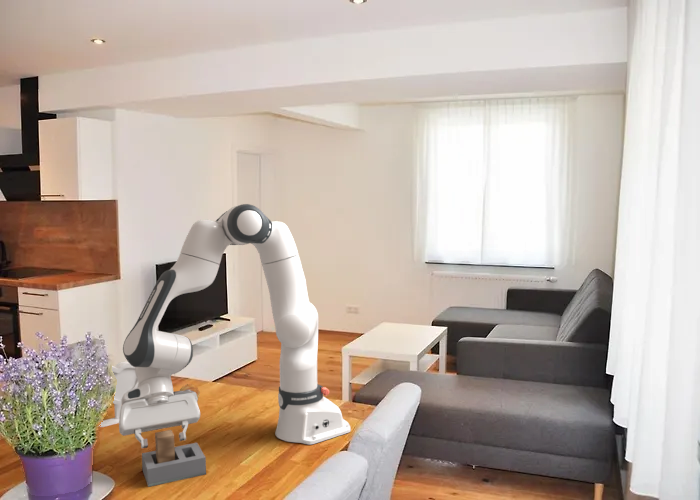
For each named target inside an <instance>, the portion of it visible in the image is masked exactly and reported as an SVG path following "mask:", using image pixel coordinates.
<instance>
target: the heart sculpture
mask: <svg viewBox="0 0 700 500" xmlns="http://www.w3.org/2000/svg"><path fill="white" fill-rule="evenodd" d="M112 371H113V373H114V375H115V377H116V379H117V385H116V393H115V396H114V401H113V403H112V404H114V417H112V418H107V419H103V420H102V421H103V422H101V424H100V425H101V426H100V425H99V426H100V428H104V427H105V428H106V427H108V426H112V425H116V424H119V417H120V410H121V407H122V397H123V394H124V393H126V392H128V391H131V390H133V389H135V388H137V387H138V378H137V376H136V372H135V367H133V366H132V365H131V364H130V363H129V362H128V361H127V360H126V361H120V362H118V363H117V364H115V365H112ZM99 426H98V427H99Z"/></svg>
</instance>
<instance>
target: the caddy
mask: <svg viewBox="0 0 700 500" xmlns="http://www.w3.org/2000/svg"><path fill="white" fill-rule="evenodd" d="M174 447H175V460H173V461H169V462H164V463H159V464H156V450H152V451H147V452H142V453H141V468H142V469H141V470H142V473H143V475H144V479H145V481H146V485H147V487H148V488H149V487H154V486H158V485H164V484H167V483H172V482H173V483H174V482H177V481H181V480H187V479H191V478H195V477H199V476H205V475H207V463H206V461H207V457H206V455H205V454H204V452H203V451H202V448H201V447H200V445H199V443H198V442H194V443H187V444H183V445H178V446H177V445H176V446H174Z"/></svg>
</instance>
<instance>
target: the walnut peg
mask: <svg viewBox="0 0 700 500" xmlns="http://www.w3.org/2000/svg"><path fill="white" fill-rule="evenodd" d="M154 439H155V451H156V464H159V463H164V462H169V461H173V460H175V447H176V446H175V434H174V432H173V430H172V429H168V430H163V431H158V432H156V431H155V433H154Z"/></svg>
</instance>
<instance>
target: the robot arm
mask: <svg viewBox="0 0 700 500" xmlns="http://www.w3.org/2000/svg"><path fill="white" fill-rule="evenodd" d="M249 244H251V245H252V246H253V247H254V248H255V249H256V250H257V251H256V252H257V253H258V254H259V258H260V263H261V265H262V266H261V267H262V270H263V274H264V277H265V278H264V279H265V281H266V284H267V288H268V291H269V292H268V293H269V299H270V306H271V313H272V317H273V318H272V319H273V323H274V328H275V335H276V337H277V339H278V341H279V342H280V343H281V344H280V357H279V386H278V394H277V395H278V396H277V397H278V399H277V400H278V406H279V412H278V414H279V415H278V419H277V424H276V425H277V426H276V429H275V433H274V434H275V436H276V438H277V439H280V440H282V441H284V442H288V443H301V444H304V445H314V444H317V443H321V442H324V441H326V440H327V441H328V440H330V439H333V438H336V437H339V436H342V435H346V434H349V433H350V432H351V430H352V429H351V425H350V423H349V422H348V421H347V420H345V419H344V418H343V414H342V411H341V409H340V407H339V406H338V405H336V404H335V403H334V402H333V401H331V400H330V399H328V398H327V397H325V396H329V394H330V390H329V389H328V388H327V387H326V386H323V385H320V384H319V383H318V349H319V345H318V344H319V313H318V310H317V307H316V306H314V304H313V303H312V302H310V298H309V295H308V294H309V293H308V288H307V280H306V276H305V273H304V270H303V266H302V260H301V258H300V254H299V251H298V247H297V244H296V242H295V239H294V236H293V235H292V232H291V231H290V228H289V227H288V225H287V224H286V223H284V222H283V221H279V220H274V221H273V220H272V221H271V219H270V218H268V216H267V215H266V214H265V213H264V212H263V210H261V209H260V208H258V207H257V206H255V205H254V204H249V203H242V204H237V205H234V206H233V207H231V208H229V209H228V210H227V211H225V212H224V213H222V214H221V215H220V216H219V217H218V218H217V219H216V220H212V219H200V220H197V221H195V222H193V224H192V226H191V227H190V229H189V231H188V233H187V235H186V237H185V239H184V241H183V244H182V247H181V250H180V253H179V255H178V258H177V260H176V261H175V263H174V264H173V266H172V267H170V269H167V270H165V271H164V272H162V274H161V275H160V276H159V278H158V280H157V281H156V283H155V285H154V286H153V288H152V290H151V292H150V294H149V297H147V298H148V299H147V300H146V303H145V304H144V305H143V306H144V307H143V308H142V310H141V312H140V314H139V316H138V318H137V321H136V322H135V323H134V325H133V327H132V329H131V330H130V331H129V333H128V334H127V336H126V337H125V340H124V341H123V345H122V353H123V355H124V357H125V360H126V361H128V362H129V363H130V364H131V365H132V366H133V367H135V372H136V376H137V378H138V387H137V388H135V389H133V390H131V391H128V392H126V393H124V394H123V397H122V407H121V410H120V417H119V423H118V428H119V429H118V431H119V434H121V435H122V437H123V436H128V435H134V436H135V439H136V440H137V441H138V442H139V444H140V448H141V449H147V448H148V447H149V442H148V438H144V437H143V436H142V433H145V432H150V431H151V432H152V431H157V430H163V429H168V428H174V427H178V426H179V427H180V426H181V428H182V431H181V432H179V433H178V438H179V442H182V441H183V442H184V441H186V440H187V434H186V433H187V429H188V427H189V424H196V423H198V421H199V420H200V418H201V411H200V407H199V404H198V401H199V397H198V398H197V394H196V392H194V391H191V390H184V391H180V390H178V391H177V390H176V391H174V386H173V382H172V378H171V376H172V375H175V374H177V373H179V372H180V371H182V370H184V369H185V368H186V367H187V366H188V365H190V363H191V362H192V360H193V357H194V348H193V343H192V341H191V339H190V338H188V336H185V335H181V334H177V333H172V332H166V331H161V330H157V329H158V326H159V325H160V323H161V321H162V318H163V316H164V315H165V312H166V310H167V308H168V306H169V304H170V303H171V302H172V300H174V299H175V298H176V297H178V296H180V295H183V294H188V293H194V292H195V293H196V292H199V291H201V290H202V291H203V290H204V289H206V288H208V287H209V286H211V285H212V284H213V283H214V281H215V279H216V278H217V277H216V276H217V274H218V271H219V268H220V264H221V261H222V258H223V254H224V252H225V250H226V249H227V248H228V246H244V245H249ZM191 392H192V393H191Z"/></svg>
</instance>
